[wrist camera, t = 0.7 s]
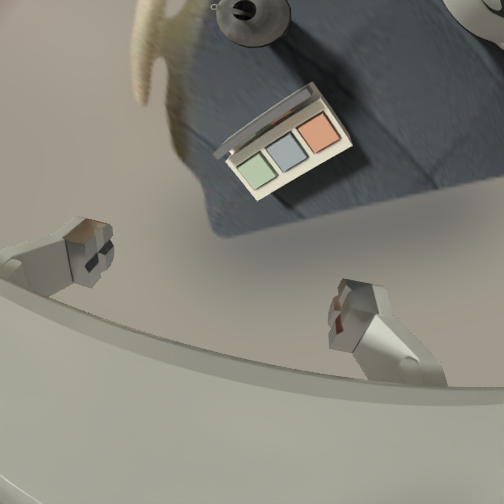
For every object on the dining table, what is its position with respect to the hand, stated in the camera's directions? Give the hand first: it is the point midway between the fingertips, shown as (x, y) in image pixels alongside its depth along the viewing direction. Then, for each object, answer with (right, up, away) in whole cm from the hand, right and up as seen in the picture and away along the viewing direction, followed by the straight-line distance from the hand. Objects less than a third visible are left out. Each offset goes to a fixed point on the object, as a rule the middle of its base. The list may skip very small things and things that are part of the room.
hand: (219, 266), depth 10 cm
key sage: (+2, +12, +31) cm, 33 cm away
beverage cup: (+4, +30, +22) cm, 38 cm away
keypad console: (+6, +17, +31) cm, 36 cm away
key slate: (+6, +14, +28) cm, 32 cm away
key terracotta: (+9, +16, +26) cm, 32 cm away
